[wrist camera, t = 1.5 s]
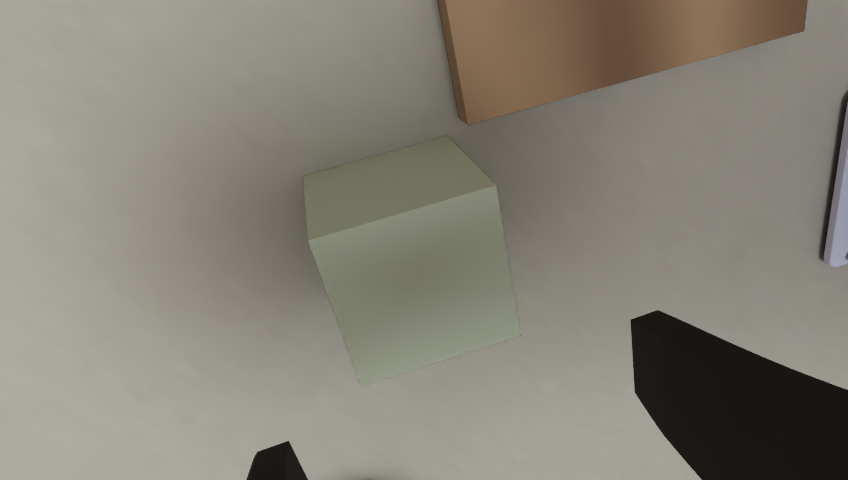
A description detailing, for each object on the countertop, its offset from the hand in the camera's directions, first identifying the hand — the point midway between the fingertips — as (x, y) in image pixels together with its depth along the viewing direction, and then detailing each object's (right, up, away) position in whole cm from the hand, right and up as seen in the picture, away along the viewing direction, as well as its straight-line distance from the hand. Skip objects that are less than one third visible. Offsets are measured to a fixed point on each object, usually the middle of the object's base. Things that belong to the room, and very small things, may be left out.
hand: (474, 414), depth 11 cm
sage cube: (-2, +4, +9) cm, 10 cm away
